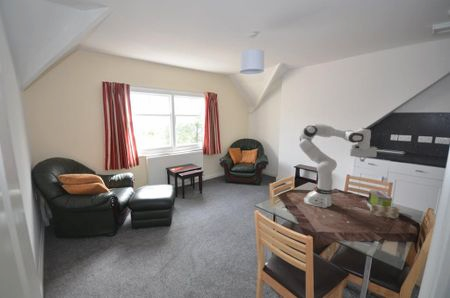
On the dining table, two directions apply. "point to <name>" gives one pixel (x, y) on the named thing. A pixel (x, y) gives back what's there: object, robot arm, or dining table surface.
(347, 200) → the dining table surface
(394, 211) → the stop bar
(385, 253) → the dining table surface
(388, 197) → the tea box
